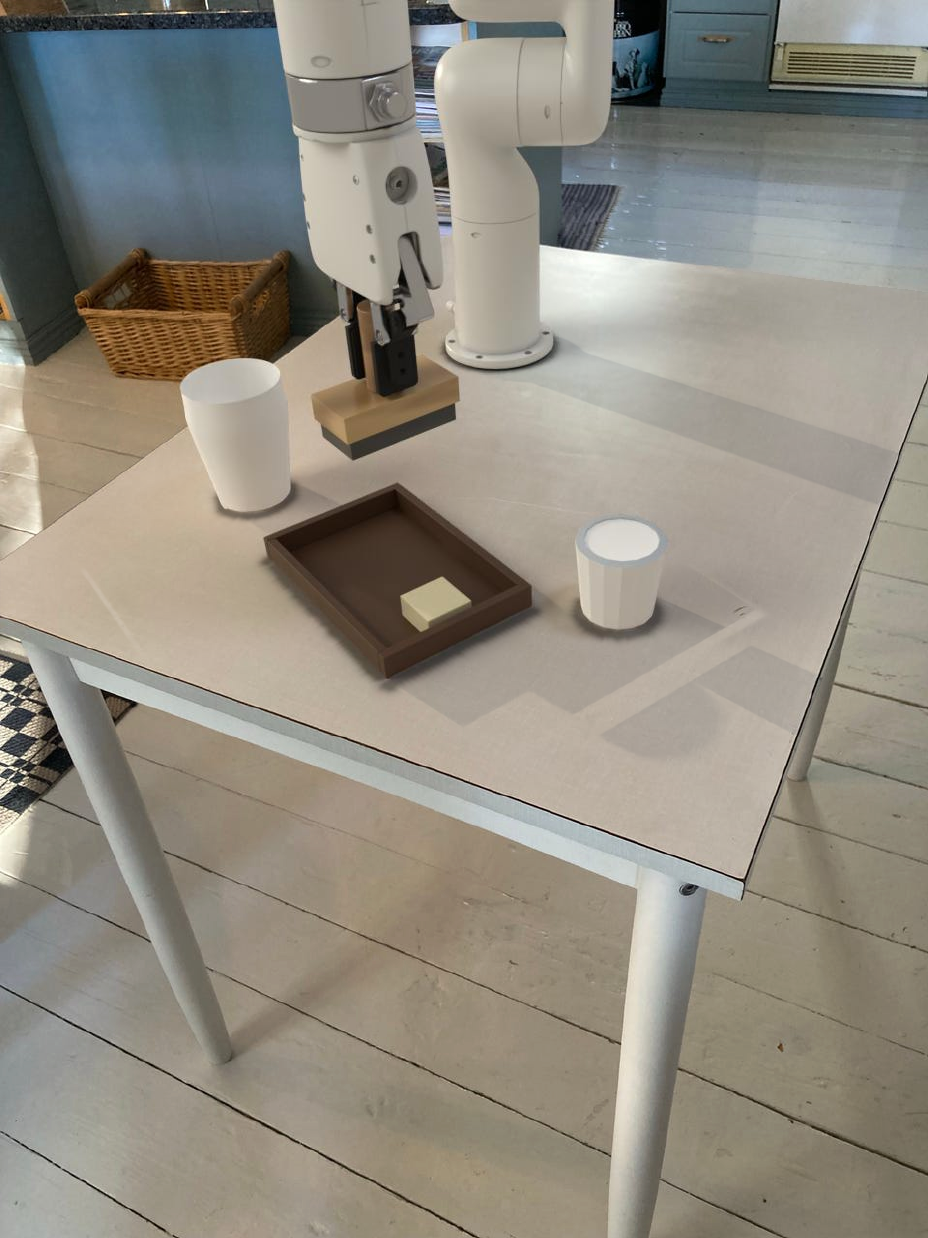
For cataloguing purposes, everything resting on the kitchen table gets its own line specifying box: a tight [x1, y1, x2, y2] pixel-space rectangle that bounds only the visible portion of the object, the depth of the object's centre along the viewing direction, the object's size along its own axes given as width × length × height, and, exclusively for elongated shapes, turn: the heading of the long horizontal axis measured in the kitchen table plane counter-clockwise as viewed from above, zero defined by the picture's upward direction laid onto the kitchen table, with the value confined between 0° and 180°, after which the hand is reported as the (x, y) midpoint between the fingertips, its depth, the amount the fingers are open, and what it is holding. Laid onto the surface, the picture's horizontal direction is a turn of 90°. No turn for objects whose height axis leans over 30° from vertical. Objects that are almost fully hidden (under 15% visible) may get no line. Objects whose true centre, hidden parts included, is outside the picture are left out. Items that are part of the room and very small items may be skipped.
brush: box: [310, 299, 461, 462], centre depth 71 cm, size 5×10×10 cm, turn 125°
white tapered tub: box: [574, 513, 669, 630], centre depth 76 cm, size 7×7×7 cm
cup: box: [179, 357, 291, 513], centre depth 90 cm, size 9×9×12 cm
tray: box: [262, 482, 533, 680], centre depth 82 cm, size 20×14×3 cm
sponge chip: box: [400, 577, 471, 632], centre depth 77 cm, size 4×4×2 cm
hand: (384, 379), depth 71 cm, fingers closed on brush, 2 cm apart
